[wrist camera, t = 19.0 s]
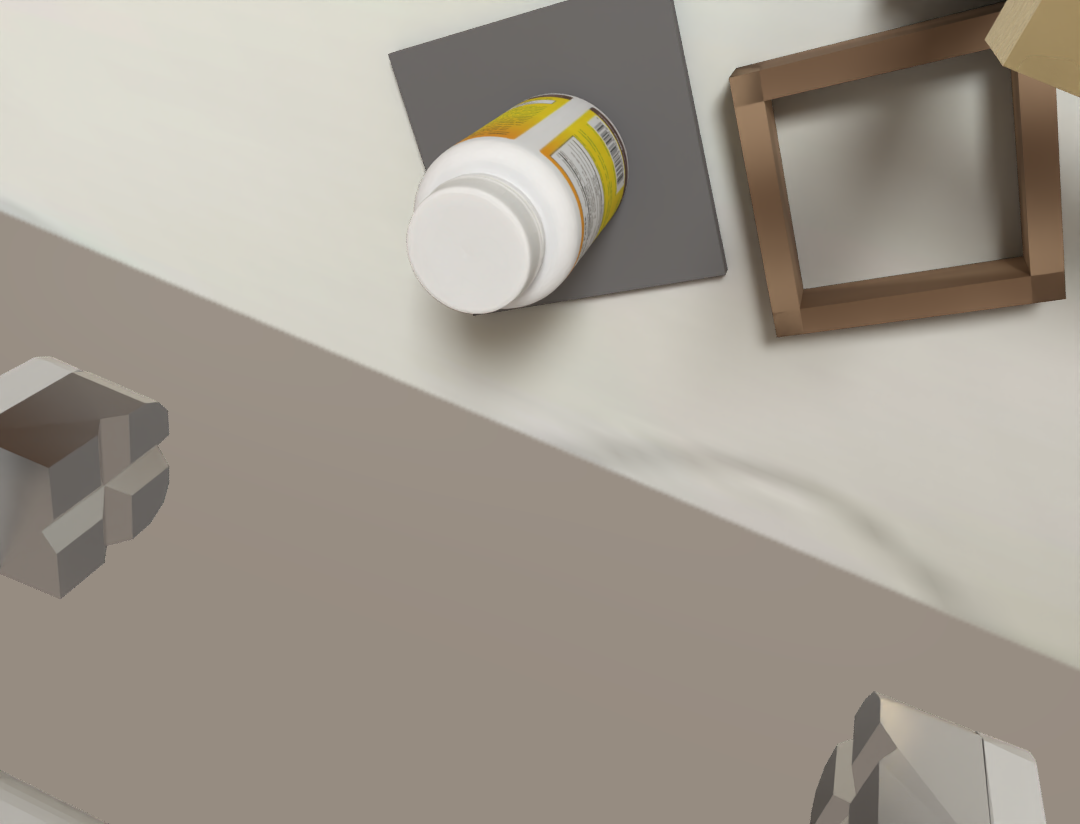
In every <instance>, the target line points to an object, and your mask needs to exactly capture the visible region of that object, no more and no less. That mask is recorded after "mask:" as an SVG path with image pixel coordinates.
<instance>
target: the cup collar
mask: <svg viewBox="0 0 1080 824" xmlns="http://www.w3.org/2000/svg"><path fill="white" fill-rule="evenodd" d="M1005 3H1006V1H1004V2H1000V3H996V4H992V5H988V6H984V7H980V8H976V9H972V10H968V11H964V12H960V13H956V14H952V15H948V16H944V17H940V18H936V19H932V20H928V21H924V22H920V23H916V24H912V25H908V26H904V27H900V28H896V29H892V30H888V31H884V32H880V33H876V34H872V35H868V36H864V37H860V38H856V39H852V40H848V41H844V42H840V43H836V44H832V45H827V46H823V47H819V48H815V49H811V50H807V51H803V52H799V53H795V54H791V55H787V56H783V57H779V58H775V59H771V60H767V61H763V62H759V63H755V64H751V65H747V66H743V67H739V68H736V69H735V71H734V72H733V73H732V75H731V76H730V77H729V82H730V87H731V92H732V98H733V103H734V109H735V114H736V119H737V125H738V130H739V136H740V141H741V146H742V152H743V157H744V163H745V168H746V173H747V179H748V184H749V190H750V195H751V200H752V206H753V211H754V217H755V222H756V227H757V233H758V238H759V243H760V249H761V254H762V260H763V265H764V270H765V276H766V281H767V287H768V292H769V297H770V303H771V308H772V314H773V319H774V324H775V330H776V335H777V337H784V336H791V335H799V334H806V333H814V332H821V331H829V330H836V329H844V328H852V327H859V326H867V325H874V324H882V323H889V322H897V321H904V320H912V319H919V318H927V317H934V316H942V315H949V314H957V313H964V312H972V311H979V310H987V309H994V308H1002V307H1009V306H1017V305H1024V304H1032V303H1039V302H1047V301H1054V300H1062V299H1066V292H1065V270H1064V249H1063V228H1062V207H1061V185H1060V164H1059V143H1058V122H1057V100H1056V87H1053V86H1051V85H1048V84H1046V83H1043V82H1041V81H1038V80H1036V79H1033V78H1031V77H1029V76H1026V75H1024V74H1021V73H1019V72H1016V71H1014V70H1011V80H1012V95H1013V110H1014V125H1015V141H1016V156H1017V171H1018V186H1019V202H1020V217H1021V232H1022V247H1023V256H1021V257H1015V258H1008V259H1001V260H995V261H988V262H982V263H975V264H968V265H962V266H955V267H948V268H942V269H935V270H929V271H922V272H915V273H909V274H902V275H896V276H889V277H882V278H876V279H869V280H863V281H856V282H849V283H843V284H836V285H830V286H823V287H816V288H810V289H803V284H802V278H801V272H800V266H799V261H798V255H797V249H796V243H795V237H794V231H793V225H792V219H791V213H790V207H789V201H788V195H787V189H786V184H785V178H784V172H783V166H782V160H781V154H780V148H779V142H778V136H777V130H776V124H775V118H774V112H773V107H772V101H771V99H776V98H780V97H784V96H788V95H793V94H797V93H801V92H806V91H810V90H814V89H819V88H823V87H827V86H832V85H836V84H840V83H844V82H849V81H853V80H857V79H862V78H866V77H870V76H875V75H879V74H883V73H888V72H892V71H896V70H900V69H905V68H909V67H913V66H918V65H922V64H926V63H931V62H935V61H939V60H944V59H948V58H952V57H956V56H961V55H965V54H969V53H974V52H978V51H982V50H987V49H991V48H990V47H989V45H988V44H987V42H986V41H985V38H986V36H987V35H988V33H989V31H990V29H991V28H992V26H993V24H994V22H995V21H996V19H997V17H998V15H999V14H1000V12H1001V10H1002V8H1003V7H1004V5H1005Z"/></svg>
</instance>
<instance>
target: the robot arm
mask: <svg viewBox="0 0 1080 824" xmlns="http://www.w3.org/2000/svg"><path fill="white" fill-rule="evenodd" d="M168 435H169V422H168V410H167V409H166V408H164V407H163V406H162V405H161V404H160V403H159V402H157V401H155V400H152V399H150V398H148V397H146V396H143V395H141V394H139V393H136V392H134V391H132V390H129V389H127V388H125V387H123V386H120V385H118V384H115V383H113V382H111V381H109V380H106V379H104V378H102V377H99V376H97V375H95V374H93V373H90V372H88V371H86V372H85V371H83V370H81V369H79V368H76V367H74V366H72V365H70V364H67V363H65V362H63V361H60V360H58V359H56V358H53V357H34V358H33V359H31V360H29V361H27V362H25V363H23V364H21V365H20V366H18V367H16V368H14V369H12V370H10V371H8V372H6V373H4V374H2V375H0V574H2V575H4V576H6V577H9V578H12V579H14V580H16V581H18V582H21V583H23V584H26V585H28V586H30V587H33V588H35V589H38V590H40V591H42V592H45V593H47V594H50V595H52V596H54V597H57V598H59V599H61V598H62V597H64V596H65V595H66V594H67V593H68V592H70V591H71V590H72V589H73V588H75V587H76V586H77V585H78V584H79V583H81V582H82V581H83V580H84V579H85V578H87V577H88V576H89V575H90V574H91V573H92V572H94V571H95V570H96V569H97V568H99V567H100V566H101V565H102V564H103V563H105V556H106V548H107V546H108V545H111V544H115V543H119V542H123V541H127V540H131V539H133V538H134V537H135V536H137V535H138V534H139V533H140V532H141V531H142V530H143V529H145V528H146V527H147V526H148V525H149V524H150V523H151V522H152V520H153V518H154V517H155V515H156V514H157V512H158V510H159V509H160V507H161V506H162V504H163V503H164V499H165V496H166V492H167V489H168V485H169V465H168V463H167V461H166V459H165V458H164V456H163V454H162V452H161V450H160V449H159V447H158V445H159V444H160V443H161V442H162V441H163V440H164V439H165V438H166V437H167V436H168ZM0 824H109V823H107V822H105V821H103V820H100V819H98V818H96V817H94V816H92V815H90V814H88V813H86V812H84V811H82V810H80V809H78V808H76V807H74V806H72V805H70V804H68V803H66V802H64V801H62V800H60V799H58V798H56V797H54V796H52V795H50V794H48V793H46V792H44V791H42V790H40V789H38V788H36V787H34V786H32V785H30V784H28V783H26V782H24V781H22V780H20V779H18V778H16V777H14V776H12V775H10V774H8V773H6V772H4V771H1V770H0ZM810 824H1046V818H1045V812H1044V806H1043V800H1042V794H1041V788H1040V783H1039V776H1038V770H1037V764H1036V760H1035V759H1034V757H1033V756H1032V754H1031V753H1030V752H1029V751H1028V750H1025V749H1022V748H1020V747H1017V746H1015V745H1012V744H1010V743H1007V742H1004V741H1001V740H999V739H996V738H994V737H991V736H989V735H986V734H983V733H981V732H978V731H975V732H973V731H972V730H970V729H968V728H965V727H963V726H961V725H958V724H956V723H953V722H950V721H948V720H945V719H943V718H940V717H938V716H935V715H933V714H930V713H928V712H925V711H923V710H920V709H917V708H915V707H913V706H910V705H907V704H905V703H903V702H900V701H897V700H895V699H893V698H890V697H887V696H885V695H882V694H880V693H877V692H875V691H874V692H873V693H872V694H871V695H869V696H868V697H867V698H866V699H865V701H864V702H863V704H862V705H861V707H860V708H859V710H858V712H857V713H856V715H855V720H854V735H853V739H852V740H848V741H845V742H843V743H840V744H837V746H836V748H835V749H834V751H833V753H832V755H831V757H830V758H829V760H828V762H827V764H826V765H825V768H824V771H823V773H822V776H821V779H820V781H819V784H818V787H817V789H816V793H815V798H814V803H813V807H812V812H811V821H810Z"/></svg>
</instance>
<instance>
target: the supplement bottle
mask: <svg viewBox="0 0 1080 824" xmlns="http://www.w3.org/2000/svg"><path fill="white" fill-rule="evenodd" d="M628 171H629V170H628V158H627V152H626V149H625V145H624V143H623V140H622V138H621V136H620V134H619V132H618V130H617V129H616V127H615V126H614V124H613V123H612V122H611V120H610V119H609V118H608V117H607V116H606V115H605V114H604V113H603V112H602V111H600V110H599V109H598V108H597V107H595V106H594V105H592V104H591V103H589V102H587V101H585V100H583V99H581V98H578V97H575V96H571V95H566V94H557V93H551V94H543V95H538V96H534V97H532V98H529V99H526V100H524V101H523V102H521V103H519V104H517V105H516V106H514V107H513V108H511V109H509V110H508V111H506V112H505V113H503V114H502V115H500V116H499V117H497V118H496V119H494V120H493V121H491V122H489V123H488V124H486V125H485V126H483V127H482V128H480V129H479V130H477V131H476V132H474V133H473V134H471V135H469V136H468V137H466V138H465V139H463V140H462V141H460V142H458V143H457V144H455V145H454V146H452V147H450V148H449V149H448V150H446V151H445V152H444V153H442V154H441V155H440V156H439V157H438V158H437V159H436V160H435V161H434V162H433V163H432V164H431V165H430V167H429V168H428V169H427V171H426V172H425V174H424V176H423V178H422V180H421V182H420V184H419V187H418V190H417V193H416V197H415V203H414V213H413V215H412V217H411V219H410V223H409V226H408V230H407V239H406V243H407V253H408V258H409V261H410V264H411V267H412V269H413V272H414V274H415V275H416V277H417V279H418V280H419V282H420V283H421V285H422V286H423V287H424V288H425V289H426V291H427V292H428V293H429V294H430V295H432V296H433V297H434V298H435V299H436V300H438V301H439V302H440V303H442V304H444V305H445V306H447V307H449V308H452V309H454V310H457V311H460V312H464V313H469V314H485V313H490V312H494V311H496V310H499V309H510V308H518V307H523V306H526V305H530V304H533V303H535V302H537V301H539V300H541V299H543V298H545V297H546V296H548V295H549V294H550V293H552V292H553V291H554V290H555V289H556V288H557V287H558V286H559V285H560V284H561V283H562V282H563V281H564V280H565V279H566V278H567V276H568V275H569V274H570V273H571V271H572V270H573V268H574V267H575V266H576V265H577V263H578V261H579V260H580V259H581V258H582V256H583V255H584V253H585V252H586V251H587V249H588V248H589V247H590V245H591V244H592V243H593V241H594V240H595V239H596V238H597V236H598V235H599V233H600V232H601V231H602V229H603V228H604V227H605V226H606V224H607V223H608V222H609V220H610V219H611V218H612V217H613V215H614V214H615V212H616V211H617V209H618V208H619V206H620V204H621V202H622V199H623V197H624V194H625V191H626V187H627V182H628Z"/></svg>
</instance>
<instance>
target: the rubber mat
mask: <svg viewBox="0 0 1080 824" xmlns="http://www.w3.org/2000/svg"><path fill="white" fill-rule="evenodd" d="M388 55H389V58H390V62H391V65H392V68H393V71H394V74H395V77H396V80H397V83H398V86H399V89H400V92H401V95H402V98H403V101H404V104H405V108H406V111H407V114H408V117H409V120H410V123H411V126H412V129H413V132H414V135H415V138H416V141H417V144H418V147H419V150H420V153H421V157H422V160H423V163H424V166H425V169H426V171H427V169H428V168H429V167H430V165H431V164H432V163H433V162H434V161H435V160H436V159H437V158H438V157H439V156H440V155H441V154H442V153H444V152H445V151H446V150H448V149H449V148H450V147H452V146H454V145H455V144H457V143H458V142H460V141H462V140H463V139H465V138H466V137H468V136H469V135H471V134H473V133H474V132H476V131H477V130H479V129H480V128H482V127H483V126H485V125H486V124H488V123H489V122H491V121H493V120H494V119H496V118H497V117H499V116H500V115H502V114H503V113H505V112H506V111H508V110H509V109H511V108H513V107H514V106H516V105H517V104H519V103H521V102H523V101H524V100H526V99H529V98H532V97H534V96H538V95H543V94H551V93H557V94H566V95H571V96H575V97H578V98H581V99H583V100H585V101H587V102H589V103H591V104H592V105H594V106H595V107H597V108H598V109H599V110H600V111H602V112H603V113H604V114H605V115H606V116H607V117H608V118H609V119H610V120H611V122H612V123H613V124H614V126H615V127H616V129H617V130H618V132H619V134H620V136H621V138H622V140H623V143H624V145H625V149H626V152H627V158H628V170H629V171H628V182H627V187H626V191H625V194H624V197H623V199H622V202H621V204H620V206H619V208H618V209H617V211H616V212H615V214H614V215H613V217H612V218H611V219H610V220H609V222H608V223H607V224H606V226H605V227H604V228H603V229H602V231H601V232H600V233H599V235H598V236H597V238H596V239H595V240H594V241H593V243H592V244H591V245H590V247H589V248H588V249H587V251H586V252H585V253H584V255H583V256H582V258H581V259H580V260H579V261H578V263H577V265H576V266H575V267H574V268H573V270H572V271H571V273H570V274H569V275H568V276H567V278H566V279H565V280H564V281H563V282H562V283H561V284H560V285H559V286H558V287H557V288H556V289H555V290H554V291H553V292H552V293H550V294H549V295H548V296H546V297H545V298H543V299H541V300H539V301H537V302H535V303H533V304H530V305H526V306H523V307H518V308H524V307H530V306H536V305H542V304H549V303H555V302H561V301H567V300H573V299H579V298H586V297H592V296H598V295H604V294H610V293H616V292H622V291H629V290H635V289H641V288H647V287H653V286H659V285H665V284H672V283H678V282H684V281H690V280H696V279H702V278H709V277H715V276H721V275H726V272H727V270H728V269H727V264H726V259H725V254H724V249H723V244H722V239H721V234H720V229H719V224H718V219H717V214H716V209H715V204H714V200H713V195H712V190H711V185H710V180H709V175H708V170H707V165H706V160H705V155H704V150H703V145H702V140H701V135H700V130H699V125H698V120H697V115H696V111H695V106H694V101H693V96H692V91H691V86H690V81H689V76H688V71H687V66H686V61H685V56H684V51H683V46H682V41H681V36H680V31H679V26H678V22H677V17H676V12H675V7H674V2H673V0H567V1H564V2H560V3H557V4H554V5H550V6H547V7H543V8H540V9H537V10H533V11H530V12H527V13H523V14H520V15H517V16H513V17H510V18H507V19H503V20H500V21H497V22H493V23H490V24H487V25H483V26H480V27H476V28H473V29H470V30H466V31H463V32H460V33H456V34H453V35H450V36H446V37H443V38H440V39H436V40H433V41H430V42H426V43H423V44H420V45H416V46H413V47H409V48H406V49H403V50H399V51H396V52H393V53H390V54H388ZM518 308H510V309H499V310H496V311H494V312H499V311H506V310H512V309H518ZM490 313H493V312H490ZM485 314H487V313H485ZM475 315H481V314H473V316H475Z"/></svg>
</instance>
